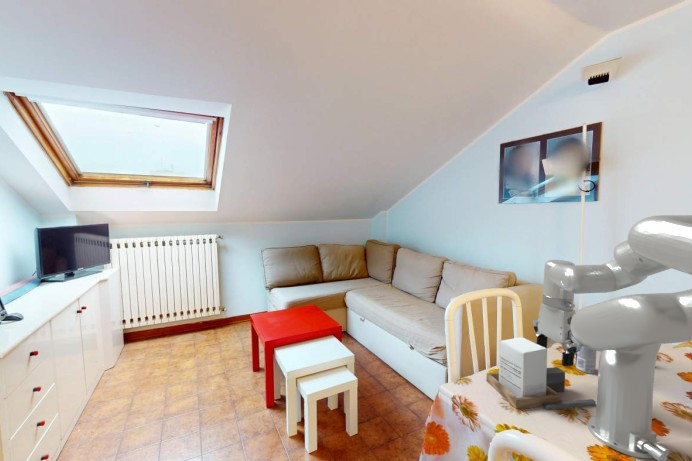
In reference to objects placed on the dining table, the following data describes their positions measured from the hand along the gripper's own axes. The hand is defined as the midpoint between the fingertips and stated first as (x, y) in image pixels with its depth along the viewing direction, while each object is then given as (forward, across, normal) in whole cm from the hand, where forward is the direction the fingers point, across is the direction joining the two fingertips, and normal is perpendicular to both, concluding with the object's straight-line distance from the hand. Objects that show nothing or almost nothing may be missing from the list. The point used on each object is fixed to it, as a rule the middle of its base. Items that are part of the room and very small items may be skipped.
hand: (553, 357), depth 91 cm
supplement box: (+10, -1, +11) cm, 15 cm away
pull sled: (+10, -1, +8) cm, 13 cm away
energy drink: (+10, +8, -20) cm, 24 cm away
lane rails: (+10, -1, +2) cm, 10 cm away
